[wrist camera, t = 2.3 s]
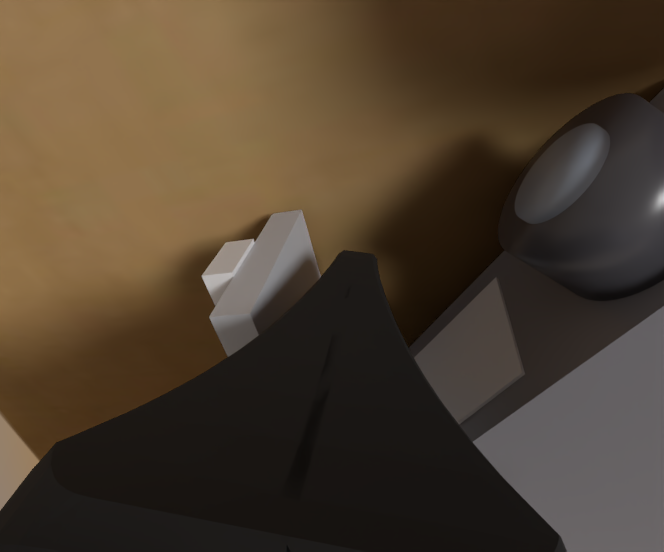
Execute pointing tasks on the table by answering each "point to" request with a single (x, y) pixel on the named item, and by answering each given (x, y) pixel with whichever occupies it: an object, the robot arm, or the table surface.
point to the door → (260, 279)
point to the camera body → (571, 333)
